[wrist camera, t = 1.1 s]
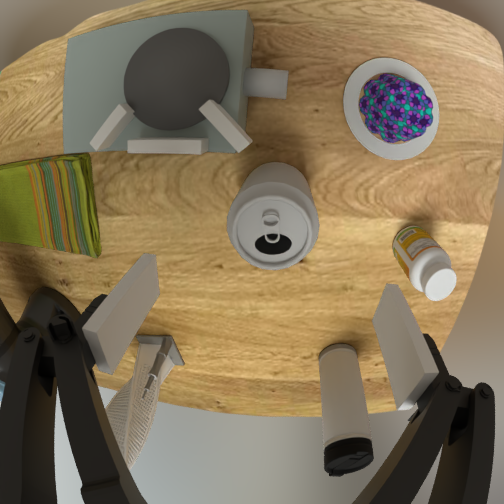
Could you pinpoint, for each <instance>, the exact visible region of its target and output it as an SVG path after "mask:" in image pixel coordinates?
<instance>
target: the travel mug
mask: <svg viewBox="0 0 504 504" xmlns="http://www.w3.org/2000/svg"><path fill="white" fill-rule="evenodd" d="M319 371H320V385H321V402H322V418H323V419H322V421H323V445H324V455H325V456H324V469H325V471H326V472H327V473H329V476H339V477H340V476H342V475H344V474H347V473H352V472H355V471H358V470H361V469H363V468H365V467H366V466H368V465H369V464H370V463H371V462H372V461H373V459H374V457H373V448H372V439H371V431H370V424H369V418H368V411H367V405H366V400H365V394H364V388H363V383H362V378H361V373H360V368H359V363H358V359H357V353H356V350H355V349H354V348H353V347H352V346H350V345H348V344H335V345H331V346H329V347H327V348H326V349H324V350H323V351H322V352H321V354H320V355H319Z"/></svg>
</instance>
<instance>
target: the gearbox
mask: <svg viewBox="0 0 504 504" xmlns="http://www.w3.org/2000/svg"><path fill="white" fill-rule="evenodd" d="M253 36H254V26H253V23H252V21H251V18H250V15H249V13H248V10H215V11H199V12H187V13H178V14H170V15H163V16H156V17H150V18H145V19H139V20H134V21H130V22H125V23H121V24H117V25H113V26H109V27H105V28H101V29H98V30H94V31H91V32H88V33H85V34H81V35H78V36H75V37H73V38H70V39H68V45H67V54H66V63H65V75H64V92H63V144H64V154H68V153H81V152H98V151H125V150H128V153H170V154H199V155H201V154H203V153H205V152H222V153H237V152H238V153H240V152H241V151H242V150H243V149H244V148H246V147H247V146H248V145H249V144H250V143H252V142H253V140H252V139H251V138H250V137H249V136H248V135H247V134H246V132H245V131H246V118H247V105H248V96H252V97H265V98H276V99H286V94H287V83H288V71H286V70H276V69H263V68H251V58H252V47H253Z"/></svg>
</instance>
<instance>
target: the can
mask: <svg viewBox="0 0 504 504" xmlns="http://www.w3.org/2000/svg"><path fill="white" fill-rule="evenodd" d="M227 232H228V235H229V238H230V241H231V243H232V245H233V246H234V248H235V249H236V250H237V252H238V253H239V254H240V256H241V257H242V258H243V259H245V260H246V261H247V262H248V263H250V264H251V265H253V266H256V267H259V268H261V269H267V270H279V269H285V268H288V267H290V266H292V265H294V264H296V263H298V262H299V261H300V260H301V259H303V258H304V257H305V256H306V255H307V254H308V253H309V252H310V251H311V250H312V248H313V246H314V244H315V242H316V240H317V238H318V232H319V219H318V214H317V210H316V207H315V204H314V200H313V197H312V194H311V191H310V188H309V185H308V182H307V181H306V179H305V177H304V176H303V174H302V173H301V172H300V171H298V170H297V169H296V168H295V167H293V166H291V165H288V164H286V163H281V162H270V163H266V164H262V165H261V166H259V167H257V168H256V169H254V170H253V171H252V172H251V173H250V175H249V176H248V177H247V178H246V180H245V182H244V183H243V185H242V187H241V189H240V190H239V192H238V194H237V196H236V197H235V199H234V201H233V203H232V205H231V208H230V210H229V213H228V216H227Z"/></svg>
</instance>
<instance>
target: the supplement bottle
mask: <svg viewBox="0 0 504 504" xmlns="http://www.w3.org/2000/svg"><path fill="white" fill-rule="evenodd" d="M393 253H394V256H395V258H396V260H397V261H398V263H399V264H400V266H401V267H402V269H403V270H404V272H405V274H406V275H407V277H408V278H409V280H410V282H411V283H412V285H413V286H414V287H415V288H416V289H417V290H419V291H422V292H424V293H425V294H426V296H427V297H428V298H429V299H430V300H433V301H439V300H442V299H444V298H445V297H447V296H448V295H449V294H450V293H451V292H452V291H453V289H454V287H455V285H456V274H455V272H454V271H453V269H452V268H451V260H450V258H449V256H448V254H447V253H446V252H445V251H444V250H443V249H442V248H441V247H440V245H439V244H438V243H437V242H436V241H435V240H434V239H433V238H432V237H431V236H430V235H429V234H428V233H427V232H426V231H425V230H424V229H422V228H421V227H418V226H409V227H406V228H404V229H403V230H401V231H400V232H399V233H398V234H397V236H396V237H395V239H394V242H393Z"/></svg>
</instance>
